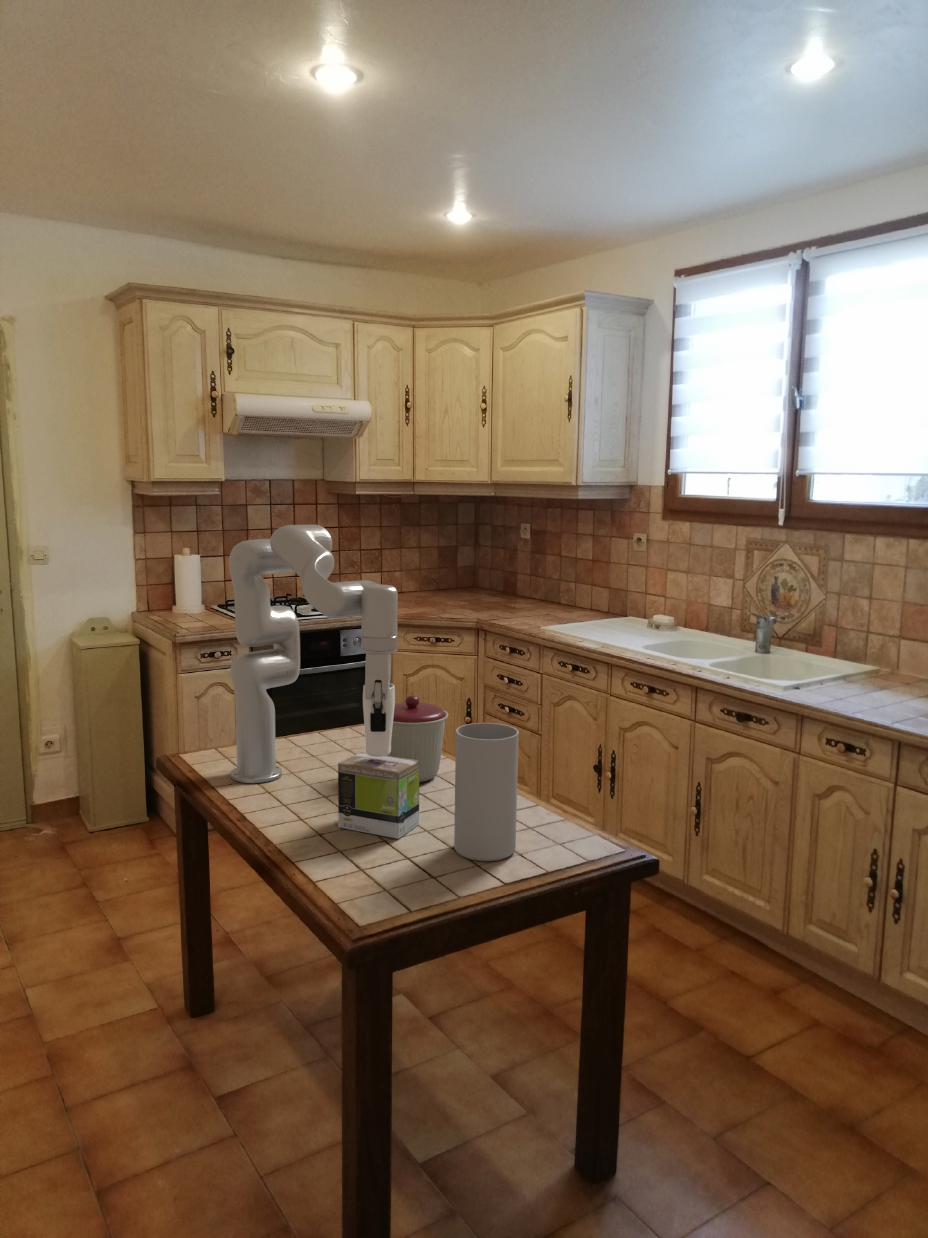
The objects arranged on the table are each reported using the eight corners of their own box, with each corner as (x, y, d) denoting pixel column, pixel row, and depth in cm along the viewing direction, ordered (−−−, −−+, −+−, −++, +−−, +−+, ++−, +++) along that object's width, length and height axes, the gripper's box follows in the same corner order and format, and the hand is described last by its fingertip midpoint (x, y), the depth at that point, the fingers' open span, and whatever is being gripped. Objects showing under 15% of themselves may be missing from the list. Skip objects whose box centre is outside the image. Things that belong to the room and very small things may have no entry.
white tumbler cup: (389, 759, 189) (390, 690, 187) (358, 757, 190) (358, 687, 188) (397, 750, 195) (398, 683, 193) (368, 748, 197) (368, 681, 194)
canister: (434, 763, 240) (435, 685, 236) (457, 784, 223) (458, 701, 220) (367, 769, 233) (368, 690, 230) (386, 792, 216) (387, 706, 213)
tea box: (420, 825, 196) (421, 759, 194) (398, 841, 187) (398, 772, 185) (361, 813, 203) (361, 749, 200) (336, 828, 194) (336, 762, 191)
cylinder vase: (455, 837, 190) (457, 722, 186) (514, 839, 189) (517, 723, 186) (452, 862, 177) (454, 739, 174) (516, 864, 177) (519, 740, 173)
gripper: (363, 636, 197) (363, 716, 200) (358, 651, 180) (358, 738, 183) (397, 636, 198) (397, 716, 201) (396, 652, 181) (395, 738, 183)
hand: (378, 726), depth 192 cm, fingers closed on white tumbler cup, 6 cm apart
